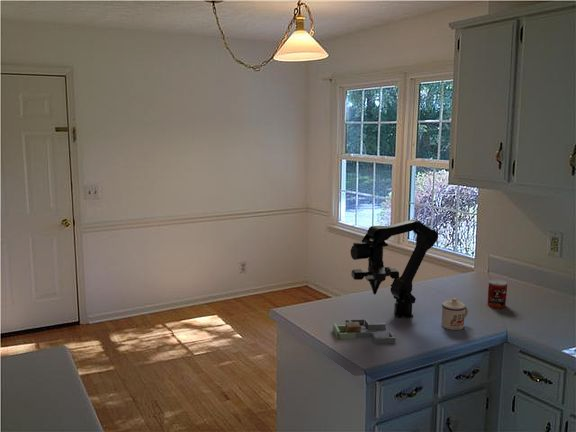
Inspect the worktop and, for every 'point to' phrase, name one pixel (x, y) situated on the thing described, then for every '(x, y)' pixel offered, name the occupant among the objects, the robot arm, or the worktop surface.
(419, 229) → the robot arm
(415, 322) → the worktop surface
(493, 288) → the canned food
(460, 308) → the teacup with lid
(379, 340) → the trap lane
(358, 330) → the walnut block
